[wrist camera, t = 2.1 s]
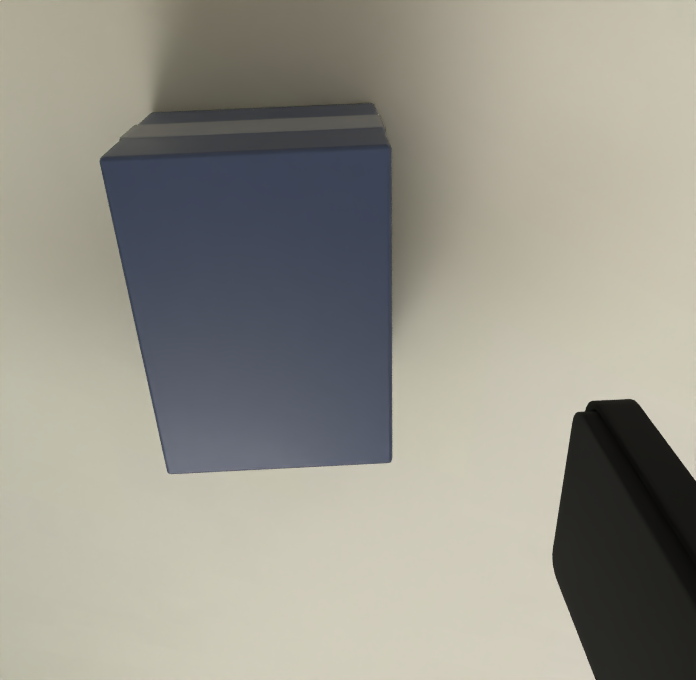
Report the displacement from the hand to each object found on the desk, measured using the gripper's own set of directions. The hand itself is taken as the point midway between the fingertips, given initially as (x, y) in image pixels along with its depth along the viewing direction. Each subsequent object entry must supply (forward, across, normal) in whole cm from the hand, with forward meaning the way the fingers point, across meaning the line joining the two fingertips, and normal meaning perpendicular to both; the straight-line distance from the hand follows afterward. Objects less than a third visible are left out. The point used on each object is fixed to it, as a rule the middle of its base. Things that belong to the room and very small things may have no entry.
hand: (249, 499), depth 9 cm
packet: (+8, 0, 0) cm, 8 cm away
